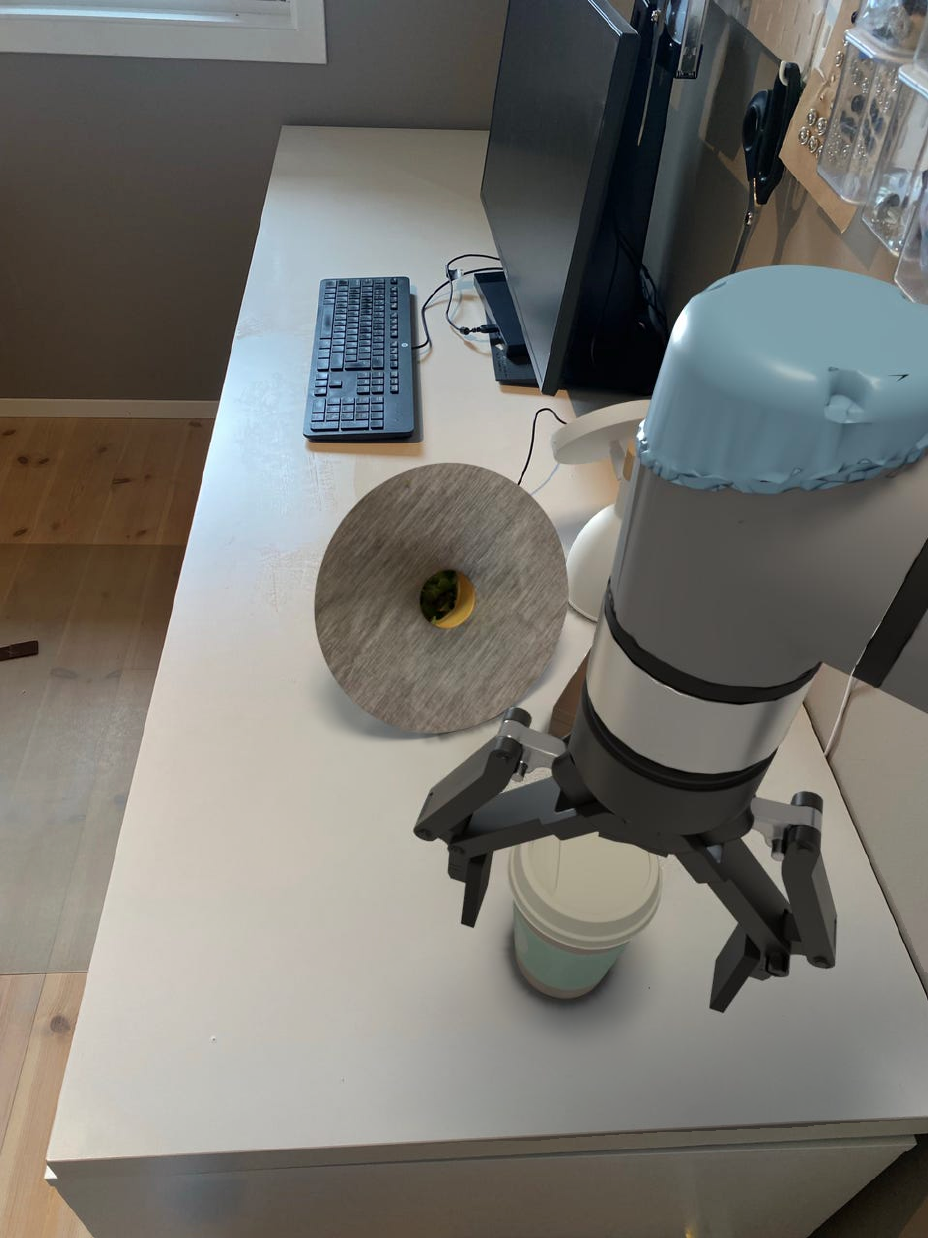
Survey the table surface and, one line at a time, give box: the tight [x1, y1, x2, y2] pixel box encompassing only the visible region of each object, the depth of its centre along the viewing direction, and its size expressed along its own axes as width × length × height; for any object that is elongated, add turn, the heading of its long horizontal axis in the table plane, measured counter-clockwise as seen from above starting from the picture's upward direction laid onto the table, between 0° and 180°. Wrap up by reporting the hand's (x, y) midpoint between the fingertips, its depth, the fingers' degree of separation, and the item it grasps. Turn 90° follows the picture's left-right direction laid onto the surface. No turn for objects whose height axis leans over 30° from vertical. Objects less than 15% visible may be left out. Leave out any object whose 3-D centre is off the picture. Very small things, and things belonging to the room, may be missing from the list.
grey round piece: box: [313, 462, 569, 734], centre depth 89 cm, size 25×18×25 cm
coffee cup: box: [506, 832, 663, 999], centre depth 66 cm, size 11×11×15 cm
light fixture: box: [549, 399, 651, 623], centre depth 95 cm, size 13×21×20 cm
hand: (593, 944), depth 49 cm, fingers open, 13 cm apart
